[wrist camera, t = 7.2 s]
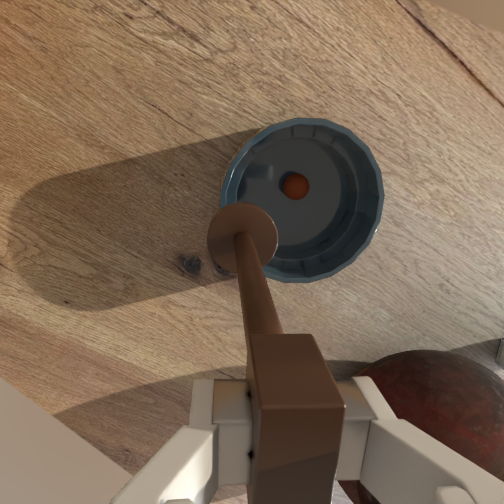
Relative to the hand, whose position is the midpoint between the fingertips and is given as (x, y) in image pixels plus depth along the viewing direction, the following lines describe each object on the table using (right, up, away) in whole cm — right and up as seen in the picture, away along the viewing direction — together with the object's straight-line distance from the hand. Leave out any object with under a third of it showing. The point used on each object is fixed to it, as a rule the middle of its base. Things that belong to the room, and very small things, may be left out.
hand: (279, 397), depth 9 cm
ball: (+4, +11, +30) cm, 32 cm away
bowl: (+4, +11, +33) cm, 35 cm away
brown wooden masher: (-2, +5, +17) cm, 18 cm away
